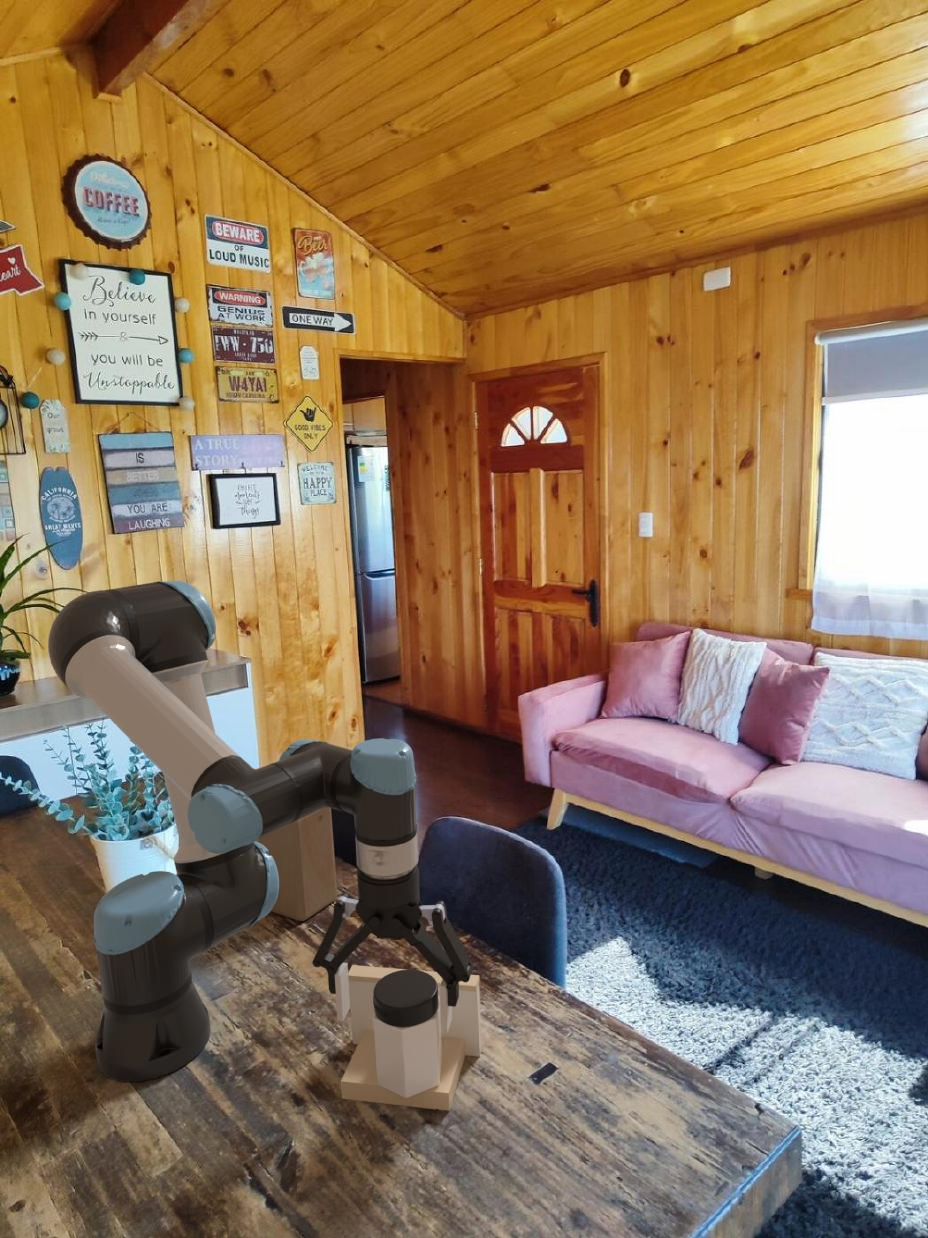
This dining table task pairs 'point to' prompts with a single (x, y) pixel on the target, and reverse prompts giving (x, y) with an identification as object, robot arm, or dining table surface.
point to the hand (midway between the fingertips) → (394, 1020)
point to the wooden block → (304, 865)
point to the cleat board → (455, 1043)
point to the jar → (407, 1032)
